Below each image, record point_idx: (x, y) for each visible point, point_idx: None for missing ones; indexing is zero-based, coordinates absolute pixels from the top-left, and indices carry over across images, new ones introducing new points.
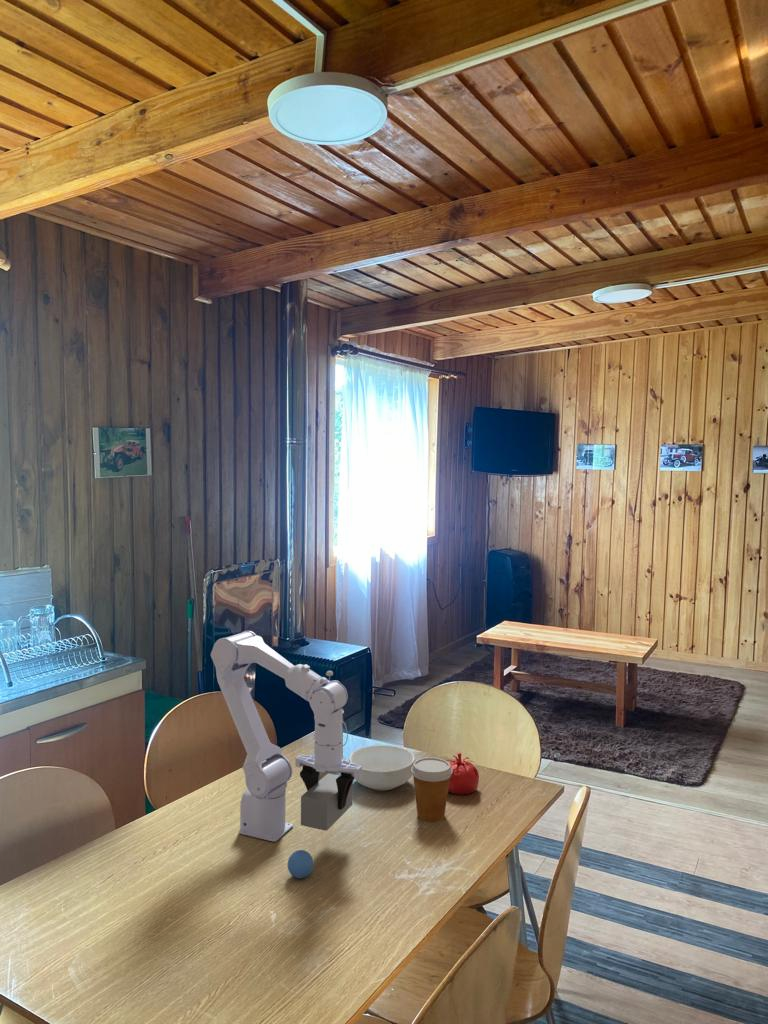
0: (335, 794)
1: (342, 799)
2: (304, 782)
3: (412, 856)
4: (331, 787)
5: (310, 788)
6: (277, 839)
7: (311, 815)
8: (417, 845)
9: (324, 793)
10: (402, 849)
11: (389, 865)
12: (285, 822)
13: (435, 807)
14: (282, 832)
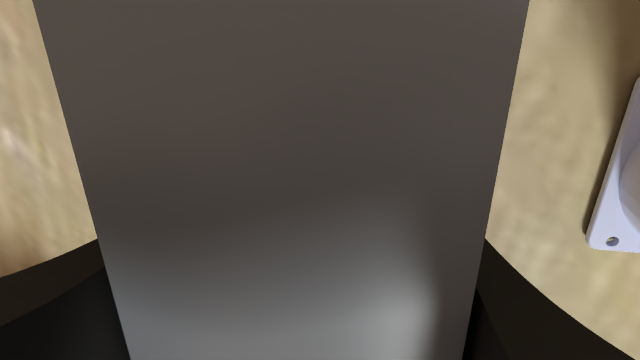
0: (99, 229)
1: None
2: (615, 353)
3: (23, 182)
4: (235, 356)
5: (475, 276)
6: (632, 95)
7: None
8: (56, 253)
9: (218, 201)
10: (80, 214)
11: (47, 89)
12: (635, 251)
13: None
14: (623, 161)
